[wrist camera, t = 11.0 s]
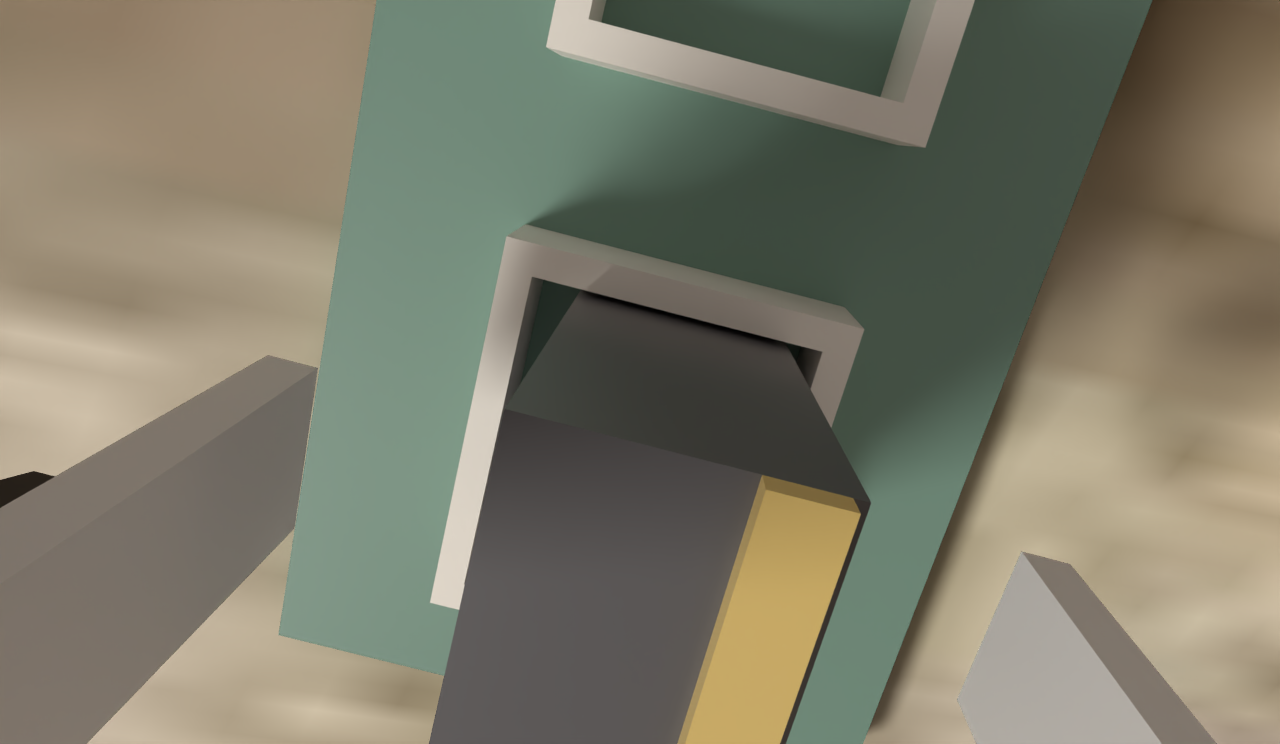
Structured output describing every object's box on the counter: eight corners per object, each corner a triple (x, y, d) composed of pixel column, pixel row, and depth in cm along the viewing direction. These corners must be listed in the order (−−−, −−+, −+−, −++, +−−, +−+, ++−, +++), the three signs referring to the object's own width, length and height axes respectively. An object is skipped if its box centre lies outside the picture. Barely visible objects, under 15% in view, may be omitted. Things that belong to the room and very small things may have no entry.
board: (491, -580, 15) (442, -764, 12) (1261, -362, 15) (1407, -484, 12) (300, 607, 22) (236, 687, 18) (841, 741, 22) (868, 841, 19)
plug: (588, 277, 18) (496, 420, 9) (776, 326, 18) (880, 518, 9) (535, 496, 19) (407, 819, 10) (711, 541, 19) (743, 901, 10)
